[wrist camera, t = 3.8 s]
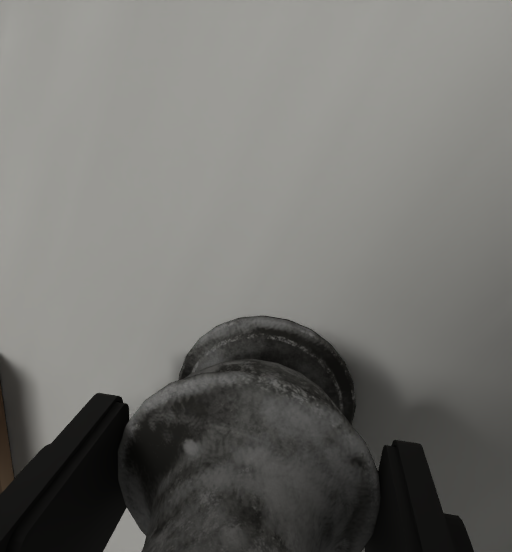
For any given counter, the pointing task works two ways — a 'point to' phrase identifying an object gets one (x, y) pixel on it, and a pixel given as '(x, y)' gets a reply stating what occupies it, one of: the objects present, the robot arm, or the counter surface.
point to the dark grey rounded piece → (251, 448)
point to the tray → (4, 451)
